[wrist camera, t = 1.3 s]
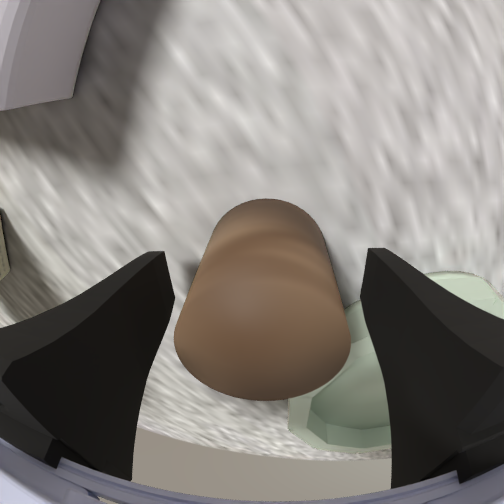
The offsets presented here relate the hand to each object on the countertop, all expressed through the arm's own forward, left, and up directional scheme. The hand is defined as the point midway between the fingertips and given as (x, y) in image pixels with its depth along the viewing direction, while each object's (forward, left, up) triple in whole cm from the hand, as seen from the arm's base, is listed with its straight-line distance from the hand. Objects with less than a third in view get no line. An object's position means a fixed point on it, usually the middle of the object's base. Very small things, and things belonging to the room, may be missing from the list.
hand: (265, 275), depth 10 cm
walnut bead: (0, 0, -2) cm, 2 cm away
